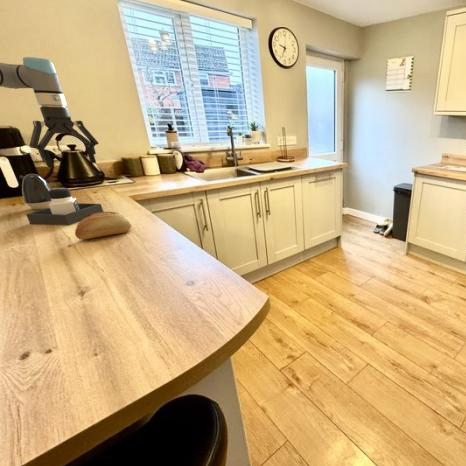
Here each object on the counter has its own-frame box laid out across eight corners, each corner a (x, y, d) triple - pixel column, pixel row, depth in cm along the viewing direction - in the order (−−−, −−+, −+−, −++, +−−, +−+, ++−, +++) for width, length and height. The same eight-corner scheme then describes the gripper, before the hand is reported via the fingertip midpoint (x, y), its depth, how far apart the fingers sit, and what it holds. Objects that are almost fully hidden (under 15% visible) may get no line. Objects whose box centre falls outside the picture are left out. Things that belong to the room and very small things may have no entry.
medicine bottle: (79, 218, 116) (68, 189, 111) (55, 222, 112) (43, 191, 107) (82, 214, 121) (72, 186, 117) (59, 217, 117) (47, 188, 113)
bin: (30, 224, 110) (25, 214, 108) (69, 211, 124) (66, 202, 123) (68, 225, 109) (64, 215, 107) (103, 212, 123) (100, 203, 122)
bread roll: (75, 237, 98) (67, 215, 95) (128, 226, 108) (122, 206, 105) (79, 245, 92) (71, 222, 89) (135, 233, 102) (129, 211, 99)
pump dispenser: (44, 204, 134) (31, 171, 128) (66, 205, 133) (54, 172, 128) (20, 211, 124) (5, 175, 119) (43, 211, 124) (29, 176, 118)
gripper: (10, 105, 94) (36, 170, 102) (98, 107, 115) (113, 161, 123) (0, 105, 97) (25, 168, 105) (87, 107, 118) (103, 160, 126)
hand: (73, 165), depth 114 cm, fingers open, 13 cm apart
